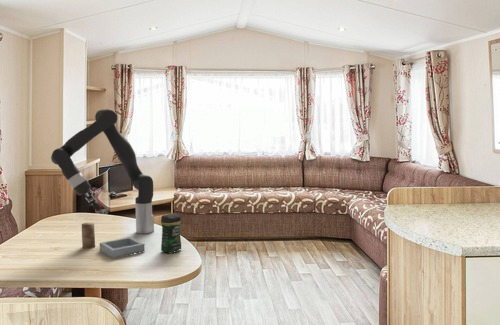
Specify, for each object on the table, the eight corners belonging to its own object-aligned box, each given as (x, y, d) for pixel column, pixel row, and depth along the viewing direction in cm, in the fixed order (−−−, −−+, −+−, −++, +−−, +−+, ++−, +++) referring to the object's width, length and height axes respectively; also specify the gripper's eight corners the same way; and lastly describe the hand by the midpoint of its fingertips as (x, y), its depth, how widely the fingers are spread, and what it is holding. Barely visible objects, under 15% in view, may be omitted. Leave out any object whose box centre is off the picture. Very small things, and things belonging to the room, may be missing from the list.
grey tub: (130, 244, 218) (130, 237, 218) (144, 251, 206) (144, 243, 206) (100, 250, 208) (99, 242, 208) (112, 258, 196) (112, 250, 195)
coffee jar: (169, 254, 202) (168, 216, 200) (158, 251, 206) (157, 214, 205) (184, 250, 209) (183, 213, 207) (173, 247, 214) (173, 211, 212)
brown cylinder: (92, 244, 219) (91, 221, 217) (96, 247, 214) (95, 224, 213) (80, 246, 215) (79, 223, 214) (84, 249, 210) (83, 226, 209)
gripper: (85, 178, 205) (105, 205, 207) (86, 179, 218) (105, 205, 220) (72, 187, 202) (92, 214, 205) (73, 188, 216) (92, 213, 218)
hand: (99, 209), depth 212 cm, fingers open, 8 cm apart
